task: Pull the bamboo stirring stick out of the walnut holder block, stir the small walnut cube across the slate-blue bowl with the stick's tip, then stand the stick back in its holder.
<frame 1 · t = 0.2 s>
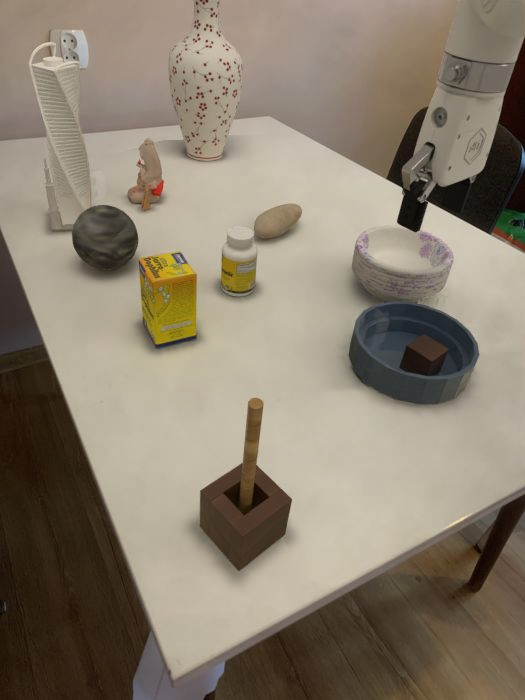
hand: (430, 217, 70), 18 cm above the table, tool pointing down, fingers open, 9 cm apart
skyscraper: (75, 220, 98), on the table
stir bowl: (406, 364, 74), on the table
paper bowls: (392, 289, 89), on the table
decorative stone: (109, 266, 87), on the table
supplement bottle: (237, 289, 85), on the table
walnut cube: (419, 369, 73), point 1 cm above the table, touching stir bowl
figurine: (146, 201, 106), on the table
stone: (276, 233, 101), on the table
stick holder: (242, 530, 53), on the table
supplement box: (169, 333, 76), on the table
bamboo stick: (248, 474, 47), in the stick holder
vase: (204, 154, 128), on the table
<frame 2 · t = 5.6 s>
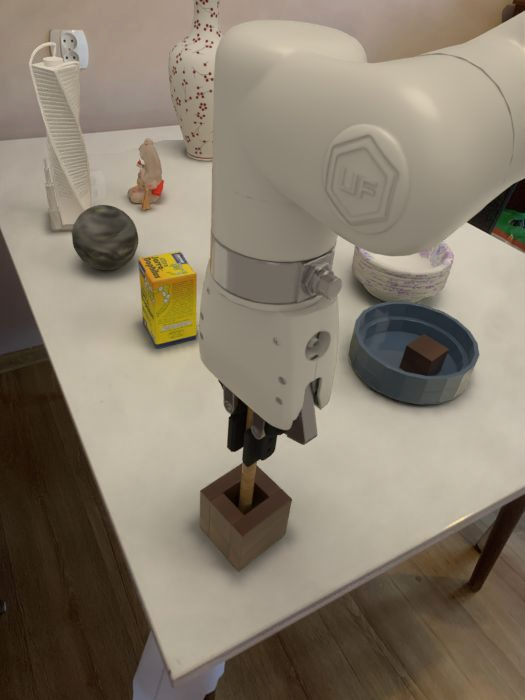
hand: (251, 448, 45), 13 cm above the table, tool pointing down, fingers closed on bamboo stick, 1 cm apart
bamboo stick: (248, 474, 47), in the stick holder, touching gripper
everything else where it was.
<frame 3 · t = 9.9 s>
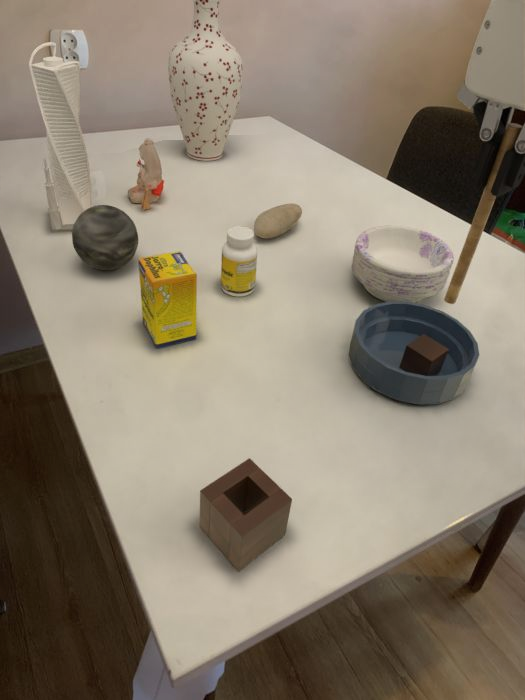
hand: (492, 187, 49), 29 cm above the table, tool pointing down, fingers closed on bamboo stick, 1 cm apart
bamboo stick: (478, 223, 51), point 26 cm above the table, touching gripper
everything else where it was.
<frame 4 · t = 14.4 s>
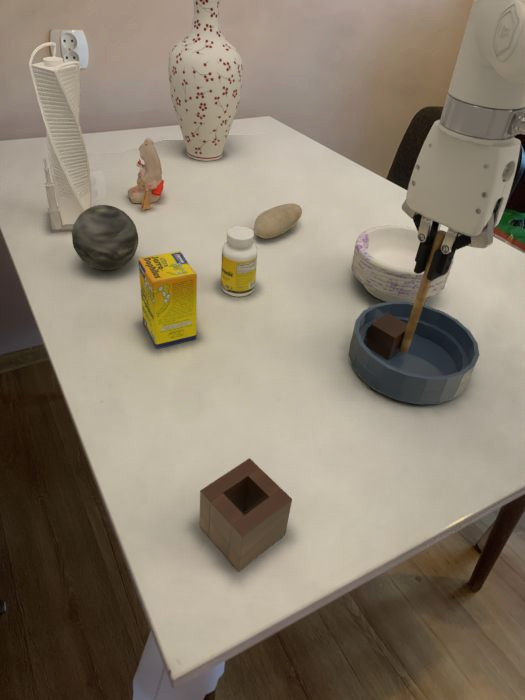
hand: (429, 272, 66), 14 cm above the table, tool pointing down, fingers closed on bamboo stick, 1 cm apart
walnut cube: (384, 347, 76), point 1 cm above the table, touching stir bowl
bamboo stick: (421, 296, 68), in the stir bowl, point 11 cm above the table, touching gripper
everything else where it was.
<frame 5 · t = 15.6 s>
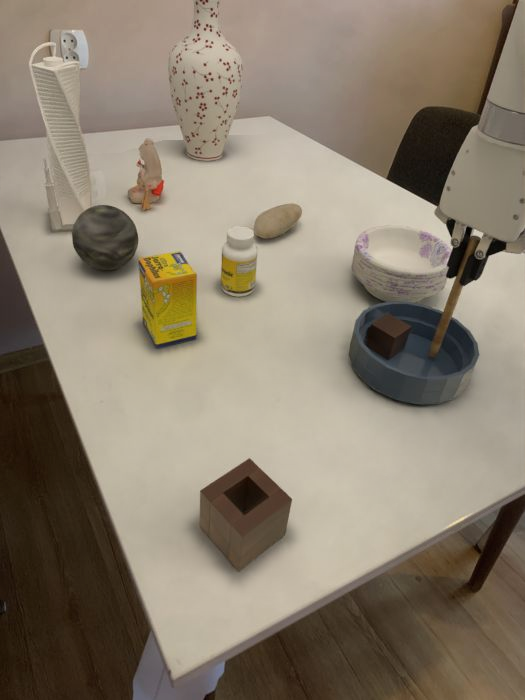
hand: (461, 277, 66), 14 cm above the table, tool pointing down, fingers closed on bamboo stick, 1 cm apart
bamboo stick: (452, 301, 68), in the stir bowl, point 10 cm above the table, touching gripper
everything else where it was.
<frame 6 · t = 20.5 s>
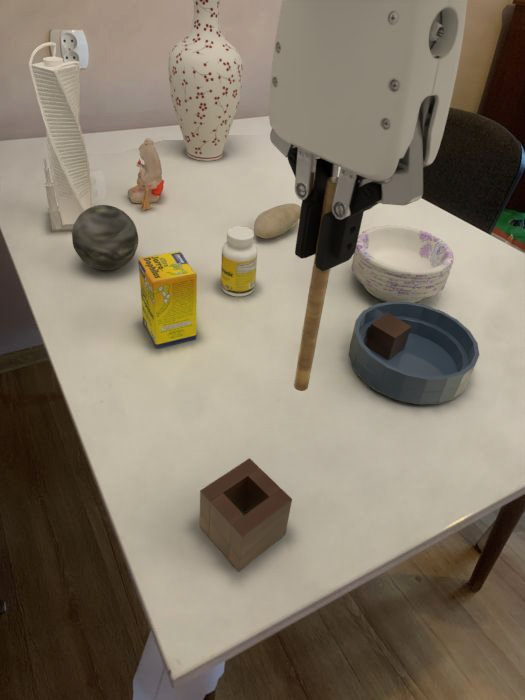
hand: (323, 256, 37), 29 cm above the table, tool pointing down, fingers closed on bamboo stick, 1 cm apart
bamboo stick: (316, 298, 39), point 26 cm above the table, touching gripper
everything else where it was.
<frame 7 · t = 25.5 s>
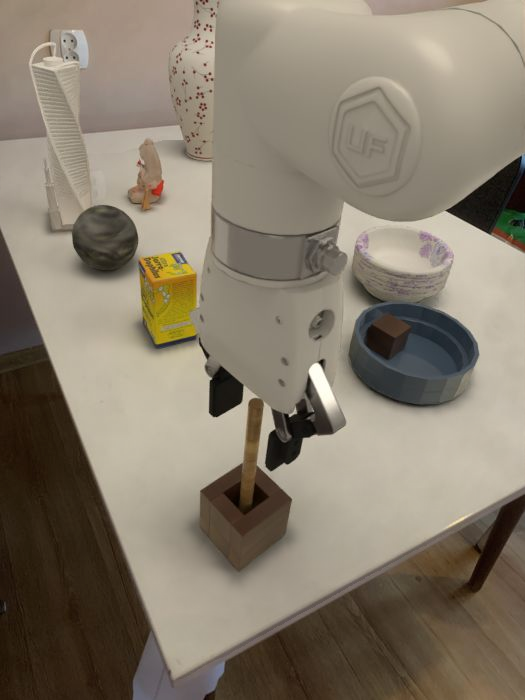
hand: (252, 432, 44), 15 cm above the table, tool pointing down, fingers open, 6 cm apart
bamboo stick: (248, 474, 47), in the stick holder
everything else where it was.
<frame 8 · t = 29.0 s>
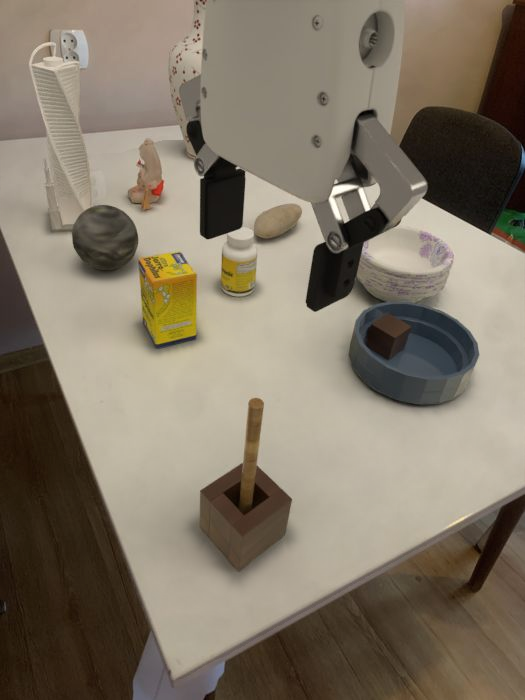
hand: (270, 264, 33), 30 cm above the table, tool pointing down, fingers open, 9 cm apart
nothing on the table moved.
at the end: walnut cube moved 5.9 cm from its start; walnut cube inside the target area in the stir bowl (3.9 cm from its centre), point 0.6 cm above the stir bowl's base; bamboo stick 0.0 cm off-centre in the stick holder, point 9.0 cm above the stick holder's base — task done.
